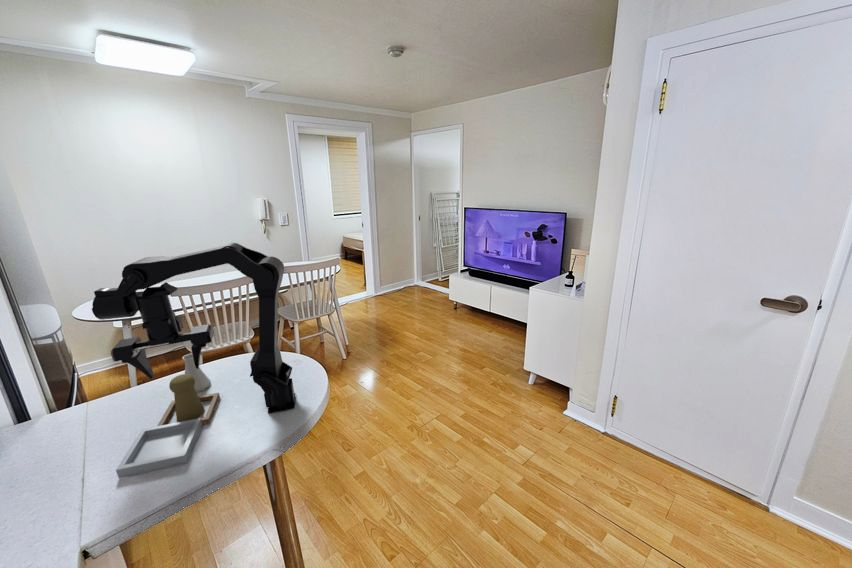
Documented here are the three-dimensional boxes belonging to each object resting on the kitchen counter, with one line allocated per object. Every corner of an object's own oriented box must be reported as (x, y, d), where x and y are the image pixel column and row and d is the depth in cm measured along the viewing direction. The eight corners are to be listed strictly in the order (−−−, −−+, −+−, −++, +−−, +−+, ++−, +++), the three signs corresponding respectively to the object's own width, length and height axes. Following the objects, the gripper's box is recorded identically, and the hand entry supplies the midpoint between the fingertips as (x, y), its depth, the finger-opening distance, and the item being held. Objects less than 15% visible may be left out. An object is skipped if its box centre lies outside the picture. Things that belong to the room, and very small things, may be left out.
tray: (202, 425, 84) (200, 417, 83) (187, 463, 73) (184, 455, 73) (144, 436, 81) (141, 429, 80) (119, 478, 70) (115, 470, 69)
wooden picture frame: (220, 397, 94) (218, 392, 94) (209, 423, 85) (208, 418, 84) (173, 405, 91) (172, 400, 91) (156, 434, 81) (155, 429, 81)
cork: (191, 424, 85) (180, 386, 81) (170, 420, 86) (159, 383, 82) (210, 408, 90) (201, 371, 87) (190, 405, 91) (180, 369, 88)
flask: (204, 376, 104) (197, 347, 101) (216, 385, 100) (208, 354, 97) (177, 388, 98) (168, 357, 95) (188, 398, 94) (179, 366, 91)
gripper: (209, 295, 89) (222, 348, 94) (118, 309, 81) (138, 366, 87) (202, 310, 79) (218, 369, 84) (99, 327, 72) (123, 390, 77)
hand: (175, 372), depth 83 cm, fingers open, 9 cm apart
